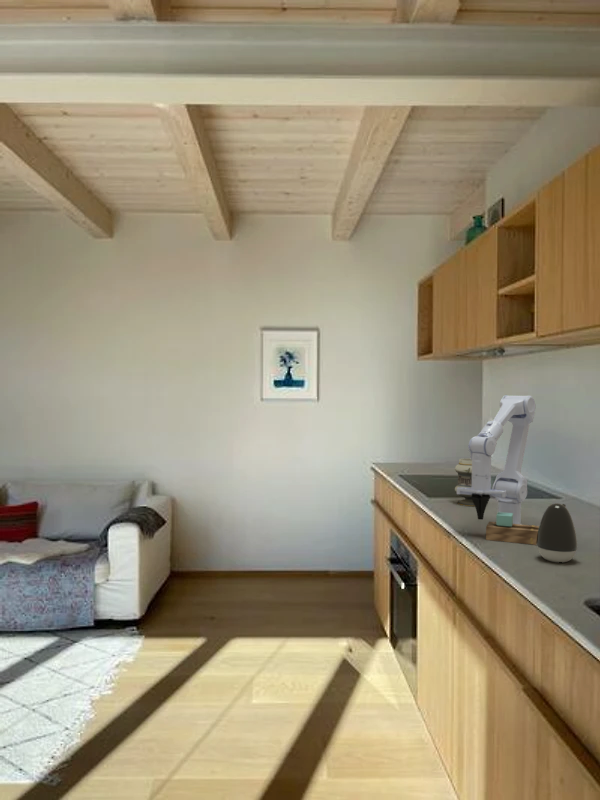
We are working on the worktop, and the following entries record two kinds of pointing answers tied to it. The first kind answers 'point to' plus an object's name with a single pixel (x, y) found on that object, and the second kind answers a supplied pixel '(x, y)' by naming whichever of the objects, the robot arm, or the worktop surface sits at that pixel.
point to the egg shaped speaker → (557, 534)
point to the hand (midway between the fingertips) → (480, 518)
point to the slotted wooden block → (512, 533)
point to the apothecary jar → (465, 480)
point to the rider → (504, 519)
